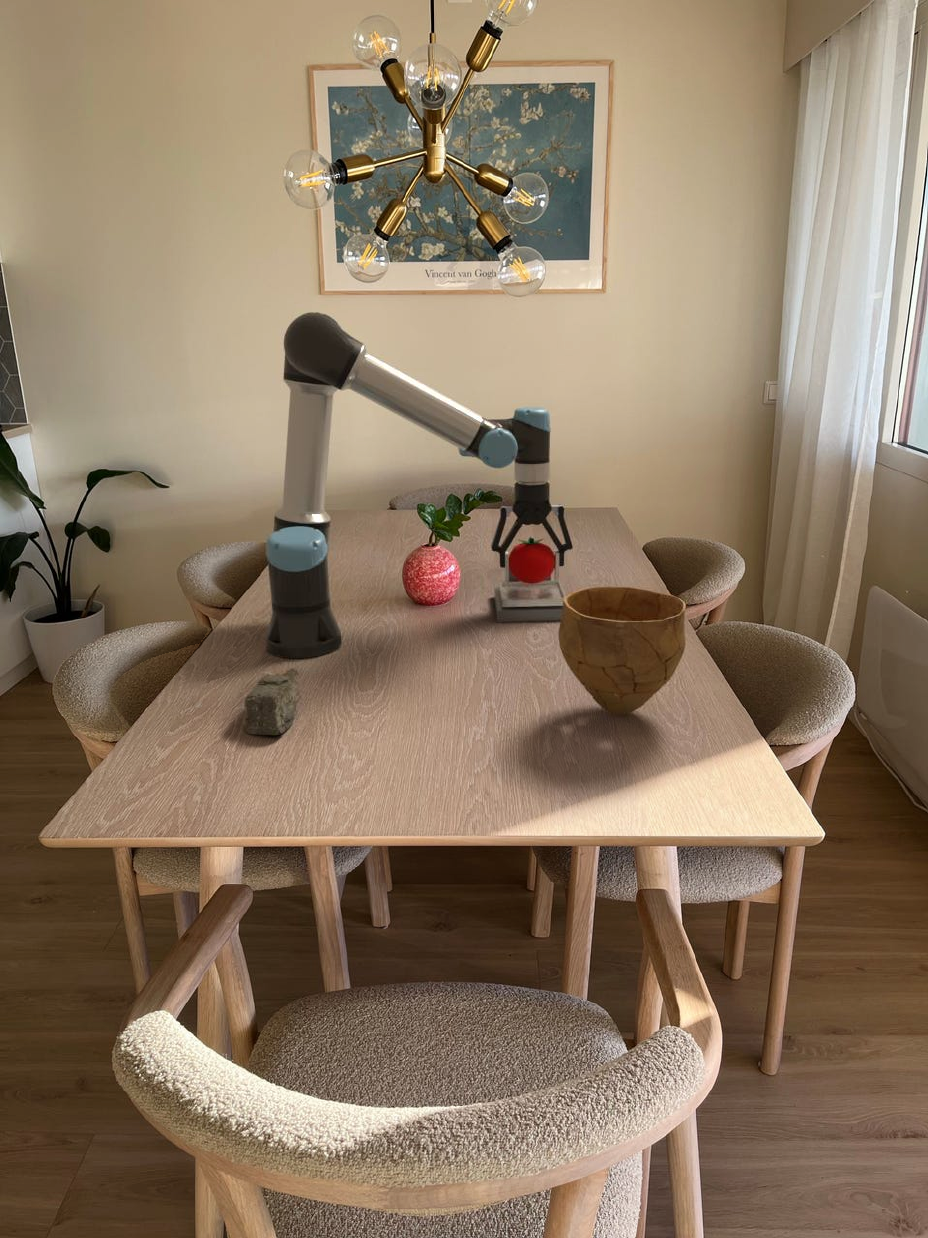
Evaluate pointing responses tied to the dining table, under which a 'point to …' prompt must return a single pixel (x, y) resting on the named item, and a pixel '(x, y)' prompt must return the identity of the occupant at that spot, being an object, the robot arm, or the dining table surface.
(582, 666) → the bowl
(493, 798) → the dining table surface
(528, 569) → the tomato
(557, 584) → the pan
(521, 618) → the scale body
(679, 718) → the dining table surface
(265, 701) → the rock
